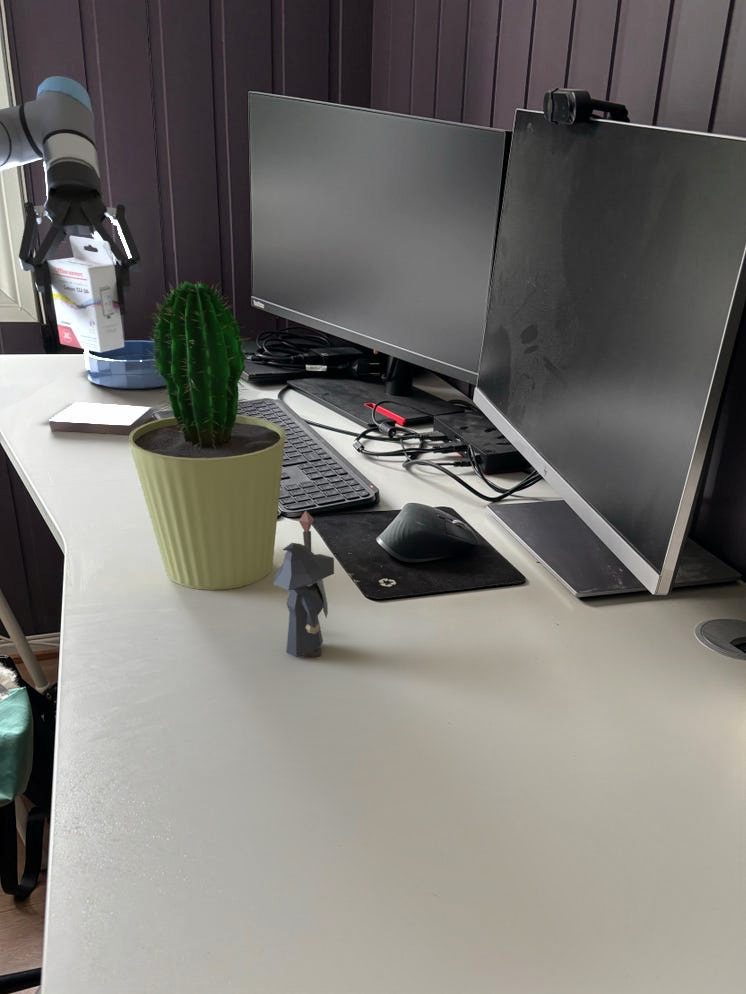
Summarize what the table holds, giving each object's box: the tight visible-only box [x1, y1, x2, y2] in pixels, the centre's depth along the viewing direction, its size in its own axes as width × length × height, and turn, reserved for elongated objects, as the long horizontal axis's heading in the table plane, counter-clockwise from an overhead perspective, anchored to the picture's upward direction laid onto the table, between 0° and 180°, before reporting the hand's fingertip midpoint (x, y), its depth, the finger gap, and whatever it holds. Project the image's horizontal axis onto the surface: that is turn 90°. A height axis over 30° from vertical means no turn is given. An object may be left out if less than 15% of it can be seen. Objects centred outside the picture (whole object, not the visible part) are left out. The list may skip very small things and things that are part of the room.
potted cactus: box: [128, 279, 287, 591], centre depth 97 cm, size 15×15×30 cm
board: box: [48, 402, 154, 436], centre depth 146 cm, size 12×10×2 cm
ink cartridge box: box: [48, 235, 125, 353], centre depth 138 cm, size 9×5×15 cm, turn 62°
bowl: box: [83, 340, 166, 390], centre depth 169 cm, size 16×16×5 cm
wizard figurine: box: [273, 510, 335, 658], centre depth 87 cm, size 8×6×12 cm
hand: (86, 309), depth 136 cm, fingers closed on ink cartridge box, 9 cm apart
